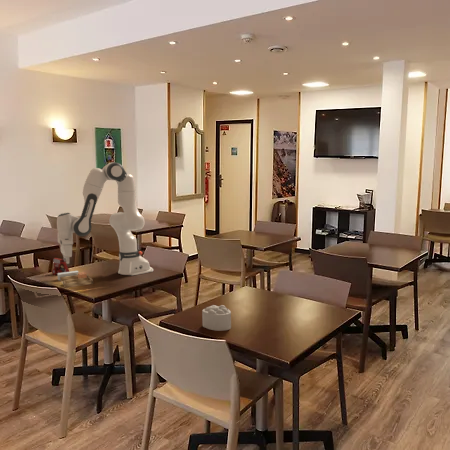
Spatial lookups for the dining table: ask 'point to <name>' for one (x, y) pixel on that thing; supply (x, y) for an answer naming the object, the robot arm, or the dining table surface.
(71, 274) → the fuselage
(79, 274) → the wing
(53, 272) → the toy fire truck
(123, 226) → the robot arm
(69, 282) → the jig
